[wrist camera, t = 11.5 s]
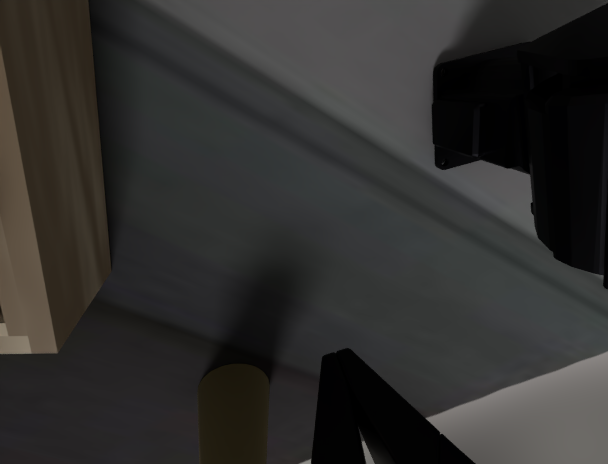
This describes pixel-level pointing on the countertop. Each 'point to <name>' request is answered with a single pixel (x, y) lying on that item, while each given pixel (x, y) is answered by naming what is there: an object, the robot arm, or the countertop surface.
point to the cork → (233, 415)
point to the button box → (48, 174)
